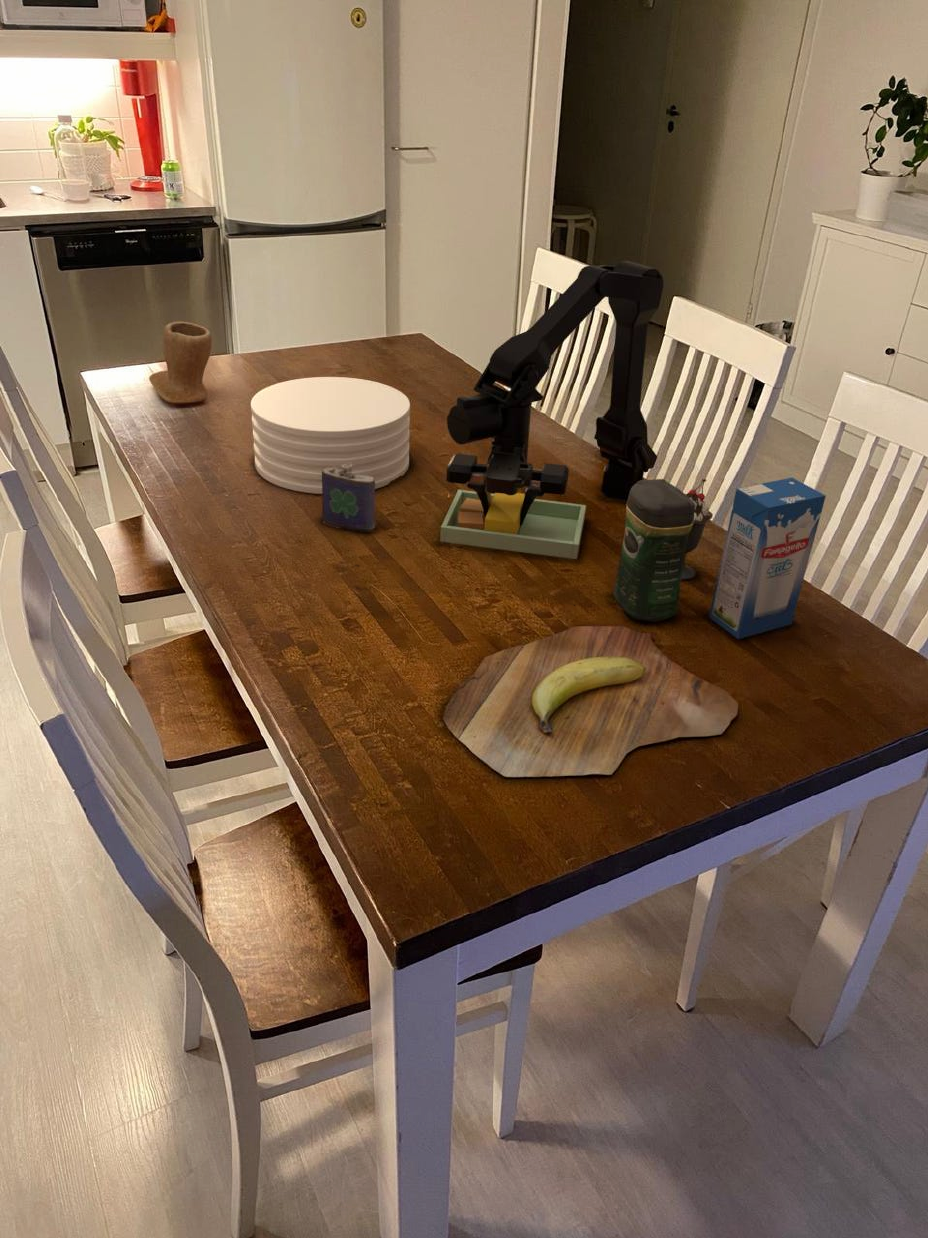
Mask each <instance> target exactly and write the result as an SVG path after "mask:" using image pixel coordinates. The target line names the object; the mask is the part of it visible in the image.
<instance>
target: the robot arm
mask: <svg viewBox="0 0 928 1238" xmlns="http://www.w3.org/2000/svg"><path fill="white" fill-rule="evenodd" d="M664 283H665V282H664V275H662V273H661V272H660V271H659V270H658V269H656V268H654V267H650V266H647V265H644V264H640V263H637V262H633V261H629V260H622V261H619V262H618V263H617V264H616V265H609V264H608V265H607V264H601V265H597V266H596V265H593V264H589V265H586V266H583V267H582V268H581V269H580V270H579V272H578V274H577V278H576V279H575V280H573V282H572V283H571V284H570V285H569V286H568V287H567V288H566V289H565V291H564V292H563V293H562V294H561V295H560V296H559V297H558V298H557V299H556V300H555V302H553V303H552V305H551V306H549V308H548V309H546V311H545V312H544V313H543V314H542V315H541V316H540V318H538V320H537V321H535V323H534V324H532V326H531V327H530V328H528V329H526V331H523V332H520V333H518V334H516V335H513V336H511V337H510V338H508V339H507V340H506V341H504V342H503V343H502V344H500V346H498V347H497V348H496V349H495V350H494V351H493V353H492V354H491V356H490V358H489V362H488V364H487V365H486V367H485V368H484V370H483V372H482V374H481V375H480V377H479V379H478V380H477V382H476V383H475V386H474V388H473V391H474V392H476V393H477V394H473V395H467V396H466V395H462V396H458V397H456V405H453V406H452V407H450V409H449V411H448V415H446V425H447V430H448V433H449V435H450V437H451V439H452V440H453V441H454V442H455V443H456V444H458V445H465V444H470V443H475V442H478V441H483V440H488V439H490V438H491V445H490V446H491V447H490V448H491V449H490V453H489V455H488V458H487V464H486V463H478V456H477V455H473V454H465V453H464V454H463V453H455V454H454V455H453V456H452V457H451V458H450V461H449V462H448V464H447V468H446V476H445V477H446V482H448V483H452V484H459V485H460V484H461V485H466V487H467V488H468V489H469V490H472V491H474V492H476V493H477V495H478V497H479V499H480V501H481V504H482V507H483V510H484V513H485V517H486V515H487V512H488V510H489V507H490V505H491V494H495V493H502V494H507V495H515V494H516V493H518V491H519V489H524V487H526V488H525V491H524V494H525V496H524V501H523V506H522V510H521V515H520V526H522V524H523V522H524V519H525V517H526V515H527V512H528V510H529V508H530V506H531V504H532V503H533V501H534V500H535V499H537V497H539V498H540V497H544V496H545V494H549V495H559V496H562V495H565V494H566V490H567V486H568V482H569V473H570V469H569V468H568V466H567V465H564V464H558V463H557V464H556V463H548V462H545V463H544V465H543V467H542V469H539V468H538V469H537V468H533V463H528V457H529V456H528V455H529V443H530V429H531V417H532V406H533V405H532V404H533V403H536V402H540V401H543V400H544V395H542V393H541V392H540V391H539V390H538V389H537V387H538V385H539V384H540V383H541V381H542V380H543V378H544V377H545V375H546V374H547V373H548V372H549V370H550V366H551V361H552V358H553V357H552V356H553V355H554V354H555V352H557V351H556V350H557V349H559V348H560V346H561V345H562V344H563V343H564V342H565V341H566V339H568V338H569V336H571V334H572V333H573V332H574V331H575V330H576V329H577V328H578V327H579V325H581V324H582V322H583V321H584V320H586V318H587V317H588V316H589V315H590V314H591V313H592V312H593V311H594V309H595V308H596V307H597V306H599V304H600V303H601V302H602V301H603V300H604V299H605V298H607V300H608V301H607V302H608V305H609V308H610V310H611V313H612V316H613V317H614V320H615V333H614V334H615V335H614V348H613V362H612V373H611V388H610V391H611V392H610V400H609V401H610V402H609V403H610V404H609V406H608V408H607V410H606V411H605V412H604V414H603V415H602V416H598V417H597V418H596V419H595V433H594V437H593V440H596V445H597V447H598V449H599V454H600V457H601V458H603V459H606V460H608V464H606V465H604V469H603V475H602V482H601V492H602V493H603V495H602V497H603V498H604V499H611V500H621V501H628V497H629V493H630V490H631V488H632V487H633V486H634V485H635V484H636V483H637V482H638V481H641V480H644V475H645V473H648V472H649V471H650V469H653V468H654V467H655V464H656V462H657V460H658V455H657V454H656V453H655V451H654V450H653V449H652V447H651V446H650V445H649V440H648V438H649V437H648V424H647V421H646V420H645V417H644V414H643V413H642V410H641V402H642V401H641V400H642V399H641V398H642V390H643V389H642V388H643V379H644V368H645V357H646V347H647V336H648V327H649V322H650V321H651V320H652V318H653V317H654V315H655V314H656V313H657V311H658V309H660V305H661V299H662V295H663V290H664ZM495 383H497V384H500V385H502V386H504V387H506V388H509V389H510V390H505V389H503V388H502V387H499V386H497V385H494V384H495Z"/></svg>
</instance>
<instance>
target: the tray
mask: <svg viewBox="0 0 928 1238" xmlns="http://www.w3.org/2000/svg"><path fill="white" fill-rule="evenodd" d="M494 494H495V493H494ZM494 494H493V493H491V502H492V500H493V497H494ZM466 498H471V499H477V500H480V499H479V497H478V495H477V493H476V492H475V491H474V490H465V489H458V490H457V492H456V494H455V496H454V498H453V500H452V502H451V504H450V506H449V509H448V511H447V513H446V515H445V517H444V519H443V522H442V524H441V525H440V537H439V542H440V543H442V542H443V543H448V544H449V543H450V544H457V545H465V546H473V547H480V548H487V549H497V550H502V551H503V550H504V551H512V552H519V553H526V554H534V555H541V556H542V555H543V556H550V557H556V558H566V559H573V560H578V555H579V549H580V545H581V540H582V535H583V534H582V533H583V529H584V524H585V519H586V511H587V510H586V509H587V505H586V504H579V503H572V502H564V501H555V500H547V499H538V498H535V500H534V501H533V503H532V504H531V506H530V508H529V510H528V512H527V515H526V517H525V519H524V522H523V524H522V526H521V527H520V530H519V534H518V535H516V534H509V533H501V532H493V531H485V530H484V527H485V522H484V524H483V530H477V529H469V528H462V527H458V512H460V507H461V506H462V504H463V503H464V501H465V500H466Z"/></svg>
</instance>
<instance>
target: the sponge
mask: <svg viewBox="0 0 928 1238" xmlns="http://www.w3.org/2000/svg"><path fill="white" fill-rule="evenodd" d="M524 496H525V493H521V492H517V493H516V494H515V495H507V494H502V493H494V497H493V500H492V502H491V505H490V507H489V510H488V512H487V515H486V518H485V527H484V530H485V531H493V532H501V533H509V534H516V535H518V534H519V530H520V527H521V526H520V515H521V510H522V506H523V501H524Z"/></svg>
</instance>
